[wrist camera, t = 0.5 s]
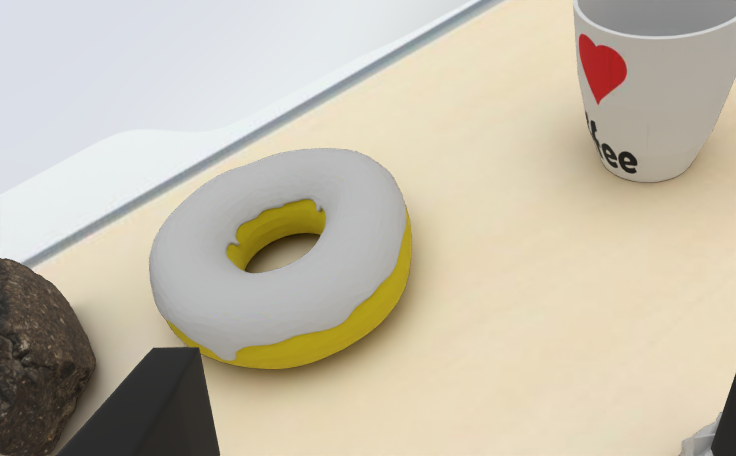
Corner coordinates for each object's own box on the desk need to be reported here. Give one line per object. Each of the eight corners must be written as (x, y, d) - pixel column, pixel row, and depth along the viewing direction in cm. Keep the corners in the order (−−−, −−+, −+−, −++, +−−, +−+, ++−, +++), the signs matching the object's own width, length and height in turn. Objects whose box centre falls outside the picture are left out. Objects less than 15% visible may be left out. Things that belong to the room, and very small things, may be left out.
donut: (143, 393, 35) (95, 337, 31) (208, 205, 44) (177, 145, 41) (413, 382, 32) (394, 319, 29) (421, 183, 42) (407, 118, 38)
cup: (562, 121, 43) (559, -31, 36) (698, 99, 41) (723, -62, 34) (588, 211, 37) (592, 52, 30) (747, 190, 36) (789, 18, 29)
